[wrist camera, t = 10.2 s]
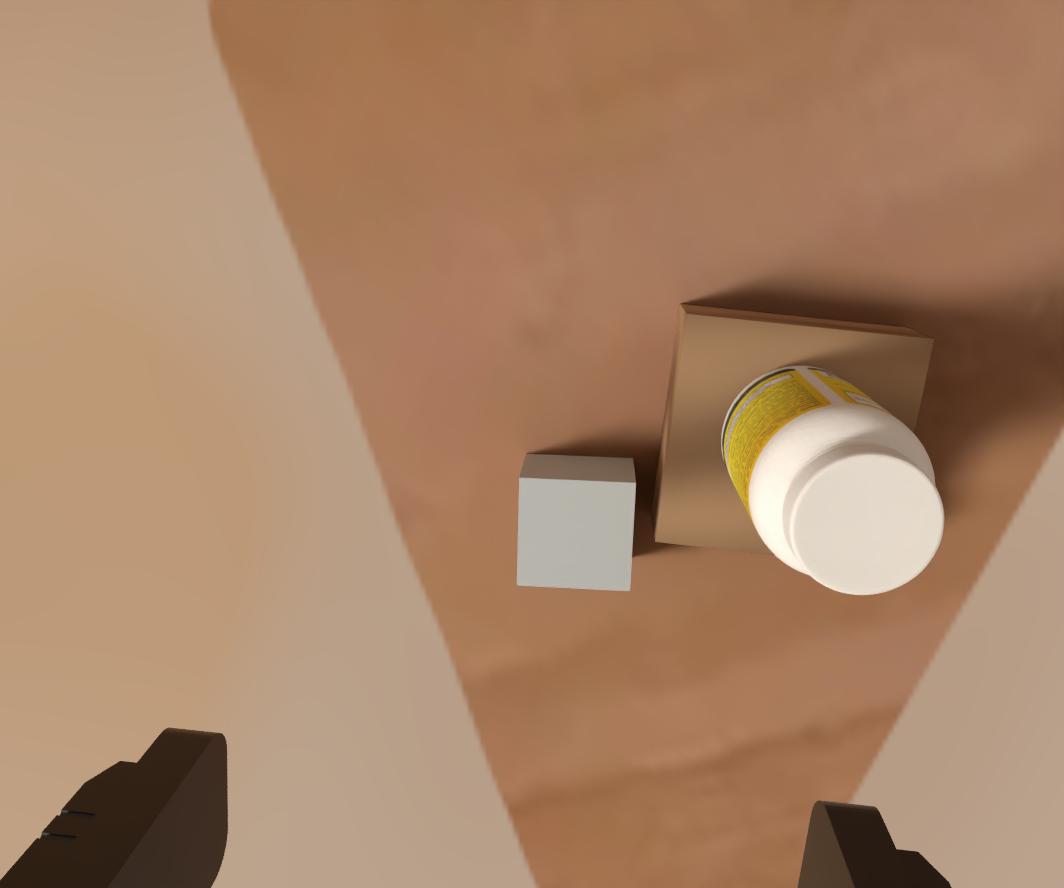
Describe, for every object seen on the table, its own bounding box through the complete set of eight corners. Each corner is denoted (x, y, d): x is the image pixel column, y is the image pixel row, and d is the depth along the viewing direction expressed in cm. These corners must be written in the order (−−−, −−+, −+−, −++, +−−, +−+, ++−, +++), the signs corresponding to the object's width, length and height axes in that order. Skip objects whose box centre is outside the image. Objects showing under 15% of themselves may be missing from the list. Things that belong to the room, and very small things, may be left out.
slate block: (526, 452, 44) (519, 477, 40) (632, 457, 44) (636, 482, 40) (524, 552, 45) (516, 585, 42) (627, 557, 45) (630, 591, 41)
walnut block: (679, 303, 42) (686, 313, 38) (907, 327, 41) (934, 339, 38) (651, 515, 44) (655, 541, 41) (863, 539, 44) (886, 568, 41)
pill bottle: (719, 508, 40) (762, 622, 30) (717, 366, 39) (763, 433, 28) (867, 502, 40) (965, 616, 29) (871, 359, 38) (977, 424, 28)
